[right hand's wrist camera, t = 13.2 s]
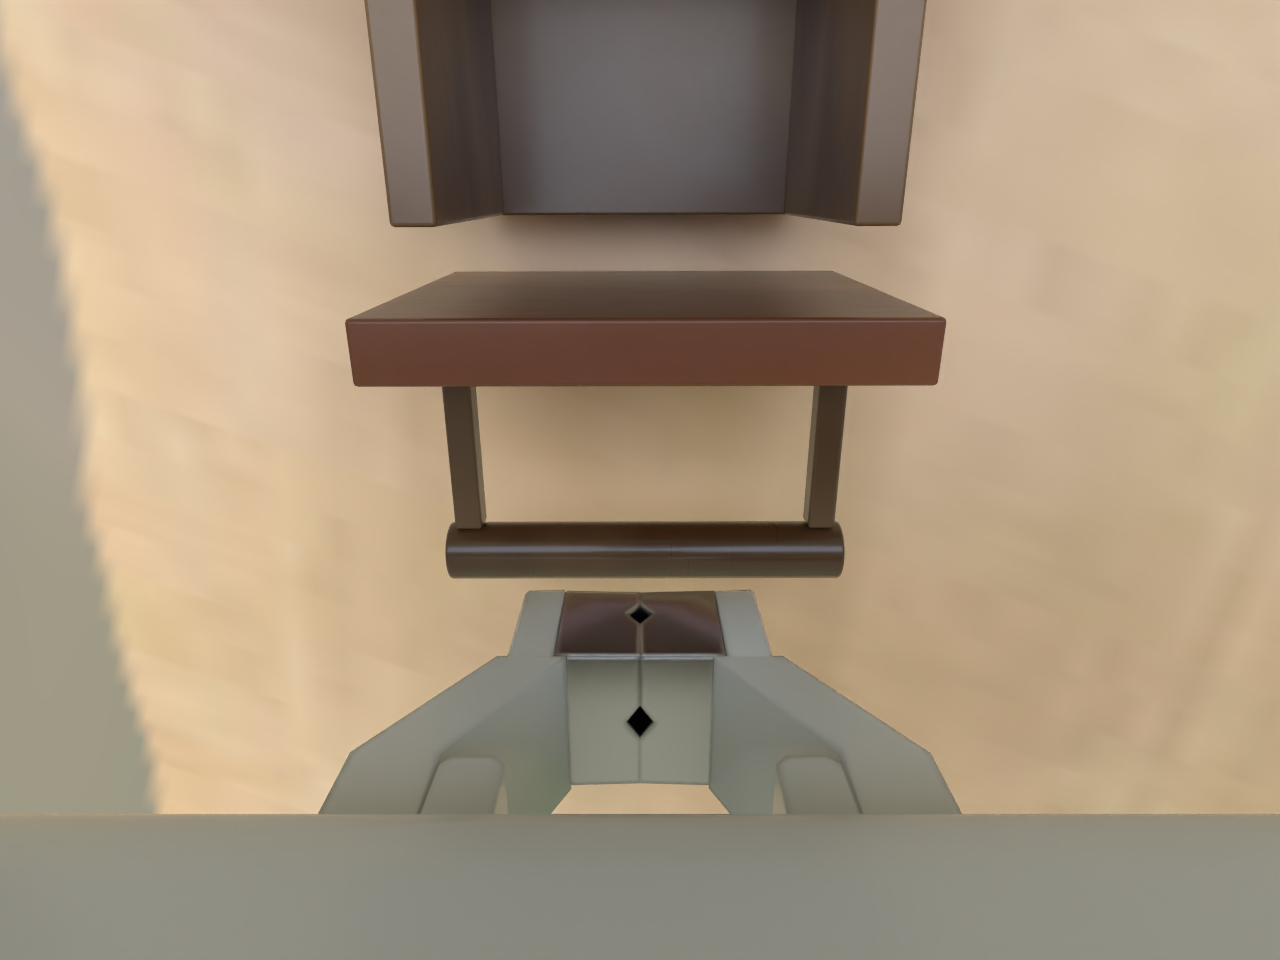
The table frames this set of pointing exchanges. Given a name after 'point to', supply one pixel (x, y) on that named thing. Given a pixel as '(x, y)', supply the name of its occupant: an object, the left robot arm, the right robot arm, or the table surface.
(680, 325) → the drawer
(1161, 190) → the table surface
